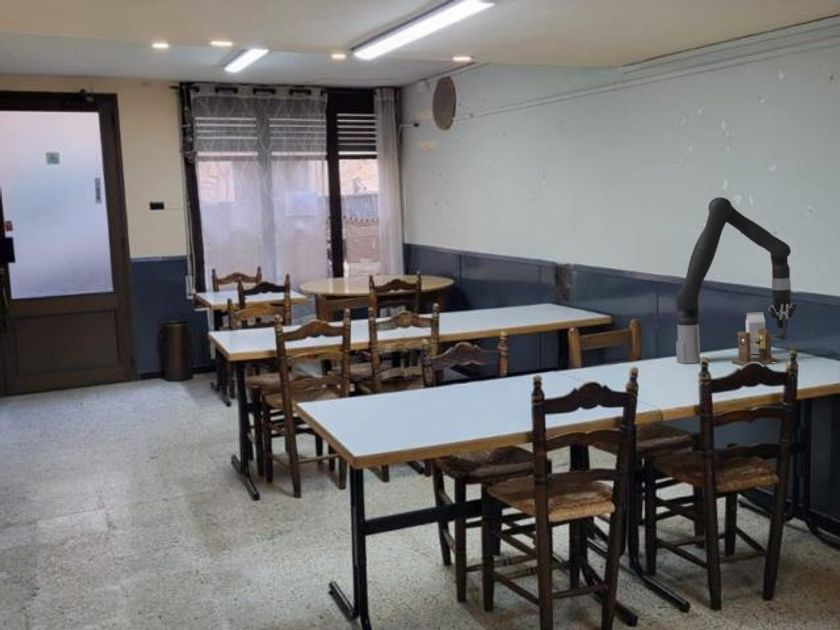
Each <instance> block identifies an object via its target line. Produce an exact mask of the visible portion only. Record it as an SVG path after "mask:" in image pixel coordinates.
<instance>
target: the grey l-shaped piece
mask: <svg viewBox="0 0 840 630" xmlns="http://www.w3.org/2000/svg"><path fill="white" fill-rule="evenodd" d="M781 320H782V328H778V327H777V329H778V334H775V335H774V334H773V335H771V341H776V340H777V341H778V340H783V341H785V340H787V327H786V317H785V316H782V319H781ZM755 342H760V338H750V343H755ZM741 343H742V344H744V339H742V340H741Z"/></svg>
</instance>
